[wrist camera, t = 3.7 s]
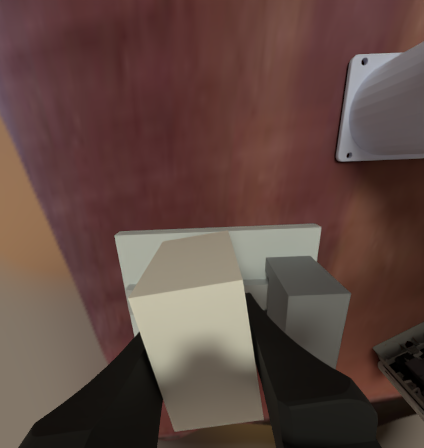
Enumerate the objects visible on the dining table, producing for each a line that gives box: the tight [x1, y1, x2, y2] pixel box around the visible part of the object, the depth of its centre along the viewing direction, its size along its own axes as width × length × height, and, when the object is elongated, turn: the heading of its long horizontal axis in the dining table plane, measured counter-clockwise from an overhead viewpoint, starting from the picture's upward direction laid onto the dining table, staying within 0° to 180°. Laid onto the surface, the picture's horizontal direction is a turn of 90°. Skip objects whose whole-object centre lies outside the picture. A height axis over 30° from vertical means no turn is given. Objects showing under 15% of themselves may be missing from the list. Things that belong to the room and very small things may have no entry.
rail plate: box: [115, 224, 351, 369], centre depth 19 cm, size 20×14×7 cm
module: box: [128, 230, 264, 432], centre depth 12 cm, size 4×9×6 cm, turn 10°
